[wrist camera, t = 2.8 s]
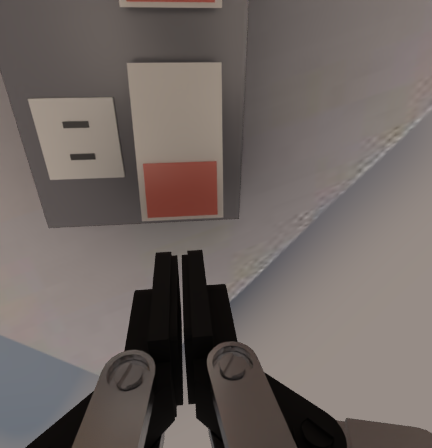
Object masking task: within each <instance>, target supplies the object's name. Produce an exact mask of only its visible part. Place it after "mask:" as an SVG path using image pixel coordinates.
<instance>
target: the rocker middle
mask: <svg viewBox="0 0 432 448" xmlns="http://www.w3.org/2000/svg"><path fill="white" fill-rule="evenodd" d="M119 5H120V7H162V8H222V0H119Z"/></svg>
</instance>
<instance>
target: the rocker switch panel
mask: <svg viewBox="0 0 432 448" xmlns="http://www.w3.org/2000/svg"><path fill="white" fill-rule="evenodd" d="M248 4H249V0H222V8H162V7H120V5H119V0H0V71H1V74H2V77H3V81H4V84H5V87H6V91H7V94H8V97H9V100H10V104H11V107H12V110H13V113H14V117H15V120H16V123H17V127H18V130H19V133H20V136H21V140H22V143H23V146H24V149H25V153H26V156H27V159H28V162H29V166H30V169H31V172H32V176H33V179H34V182H35V185H36V189H37V192H38V195H39V198H40V202H41V205H42V208H43V212H44V215H45V218H46V221H47V225H48V228H60V227H80V226H101V225H121V224H141V223H162V222H182V221H202V220H223V219H239V208H240V185H241V162H242V140H243V117H244V94H245V72H246V49H247V26H248ZM192 62H221V63H222V144H223V218H204V219H183V220H163V221H142V215H141V205H140V195H139V185H138V174H137V164H136V154H135V143H134V133H133V123H132V113H131V102H130V92H129V82H128V71H127V63H192Z"/></svg>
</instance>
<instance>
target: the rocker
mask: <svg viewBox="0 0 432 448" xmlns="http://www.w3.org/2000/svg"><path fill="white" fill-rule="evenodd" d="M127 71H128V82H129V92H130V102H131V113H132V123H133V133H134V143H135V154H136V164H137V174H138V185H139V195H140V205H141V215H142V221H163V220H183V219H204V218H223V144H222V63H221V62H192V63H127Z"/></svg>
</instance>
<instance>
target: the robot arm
mask: <svg viewBox="0 0 432 448" xmlns="http://www.w3.org/2000/svg"><path fill="white" fill-rule="evenodd" d="M187 252H188V255H182V282H183V320H184V345H185V359H186V374H187V388H188V402H189V404H196V418H197V419H198V420H199V421H201V422H202V423H203V424H204V425H205V426H206V427H208V431H209V437H210V441H211V446H212V448H432V433H430V432H428V431H427V430H424V429H421V428H417V427H411V426H403V425H395V424H388V423H381V422H372V421H365V420H358V419H350V418H346V420H345V422H344V421H337V420H335V419H334V418H333V417H331V416H330V415H329V414H328V413H326V412H325V411H323V410H321V409H320V408H318V407H317V406H315V405H314V404H312V403H311V402H309V401H308V400H306V399H305V398H303V397H302V396H300V395H298V394H297V393H295V392H294V391H292V390H290V389H289V388H288V387H286V386H284V385H283V384H281V383H280V382H278V381H277V380H275V379H274V378H272V377H271V376H269V375H268V374H266V373H264V371H263V369H262V367H261V365H260V362H259V360H258V358H257V356H256V354H255V353H254V351H253V350H252V349H251V348H250V347H248V346H247V345H245V344H243V343H240V342H237V338H236V332H235V328H234V323H233V318H232V313H231V308H230V303H229V298H228V293H227V288H226V285H225V284H219V285H206V277H205V269H204V261H203V253H202V250H194V251H187ZM182 374H183V371H182V320H181V302H180V288H179V274H178V260H177V255H176V256H172V255H171V252H160V253H156V256H155V267H154V277H153V287H152V289H148V290H135V292H134V297H133V303H132V309H131V315H130V321H129V327H128V333H127V339H126V345H125V351H124V352H121V353H119V354H117V355H116V356H114V357H112V358H111V359H110V360H109V361H108V362H107V363H106V365H105V366H104V368H103V370H102V372H101V375H100V377H99V380H98V382H97V385H96V387H95V390H94V391H93V392H92V393H91V394H90V395H88V396H87V397H86V398H85V399H84V400H82V401H81V402H80V403H79V404H78V405H76V406H75V407H74V408H73V409H71V410H70V411H69V412H68V413H67V414H65V415H64V416H63V417H62V418H61V419H59V420H58V421H57V422H56V423H55V424H54V425H52V426H51V427H50V428H49V429H47V430H46V431H45V432H44V433H43V434H41V435H40V436H39V437H38V438H37V439H35V440H34V441H33V442H32V443H30V444H29V445H28V446H27V447H26V448H163V444H164V432H165V430H166V429H167V428H168V427H169V426H170V425H171V424H172V423H173V422H174V420H175V417H176V416H177V411H176V410H177V409H176V407H177V405H183V375H182Z"/></svg>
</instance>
